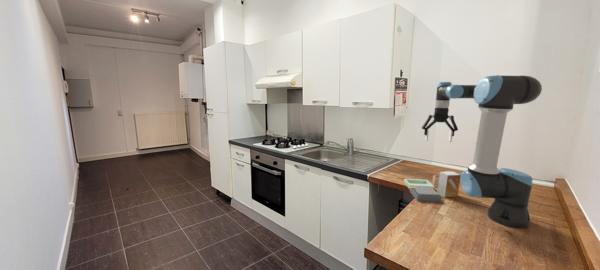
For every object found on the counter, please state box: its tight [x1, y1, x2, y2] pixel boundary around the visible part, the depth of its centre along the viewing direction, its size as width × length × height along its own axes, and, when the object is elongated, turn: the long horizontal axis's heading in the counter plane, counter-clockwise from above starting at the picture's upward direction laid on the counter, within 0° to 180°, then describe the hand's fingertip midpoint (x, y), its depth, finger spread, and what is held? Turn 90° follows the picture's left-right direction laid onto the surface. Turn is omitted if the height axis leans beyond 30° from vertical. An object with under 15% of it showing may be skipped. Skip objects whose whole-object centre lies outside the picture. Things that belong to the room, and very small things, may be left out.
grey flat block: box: [409, 187, 442, 203], centre depth 137 cm, size 12×12×4 cm
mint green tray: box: [403, 178, 435, 190], centre depth 151 cm, size 11×14×2 cm
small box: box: [436, 170, 461, 198], centre depth 138 cm, size 8×6×13 cm
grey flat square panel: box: [413, 186, 440, 196], centre depth 136 cm, size 10×10×1 cm
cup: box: [431, 174, 440, 189], centre depth 152 cm, size 7×7×6 cm
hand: (438, 140), depth 156 cm, fingers open, 13 cm apart
